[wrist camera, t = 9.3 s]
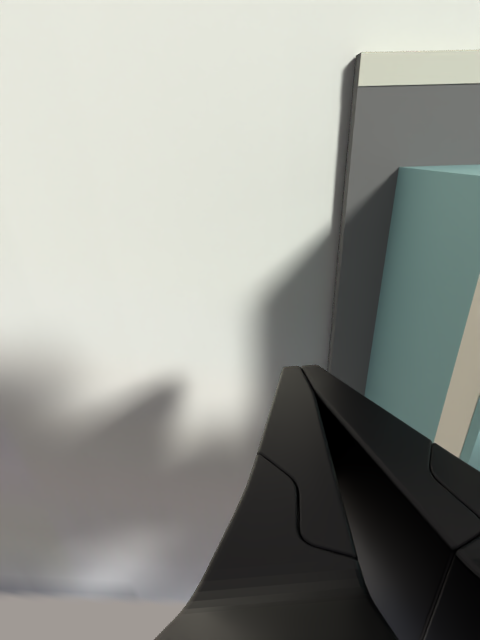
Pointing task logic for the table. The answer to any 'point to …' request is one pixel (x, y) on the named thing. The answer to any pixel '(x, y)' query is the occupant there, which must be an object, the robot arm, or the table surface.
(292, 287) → the table surface
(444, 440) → the block
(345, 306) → the mat
